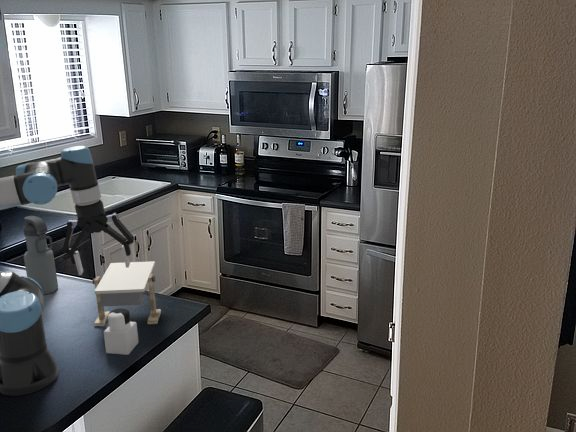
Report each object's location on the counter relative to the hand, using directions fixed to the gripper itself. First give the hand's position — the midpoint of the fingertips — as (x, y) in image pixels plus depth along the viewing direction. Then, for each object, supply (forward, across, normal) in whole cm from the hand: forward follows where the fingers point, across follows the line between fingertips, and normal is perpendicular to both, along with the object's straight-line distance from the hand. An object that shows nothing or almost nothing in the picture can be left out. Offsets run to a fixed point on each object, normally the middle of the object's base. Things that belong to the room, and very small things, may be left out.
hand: (104, 269), depth 161 cm
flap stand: (+23, -1, -11) cm, 26 cm away
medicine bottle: (+23, -2, +7) cm, 24 cm away
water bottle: (+21, +33, -39) cm, 56 cm away
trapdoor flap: (+15, -2, -15) cm, 21 cm away
